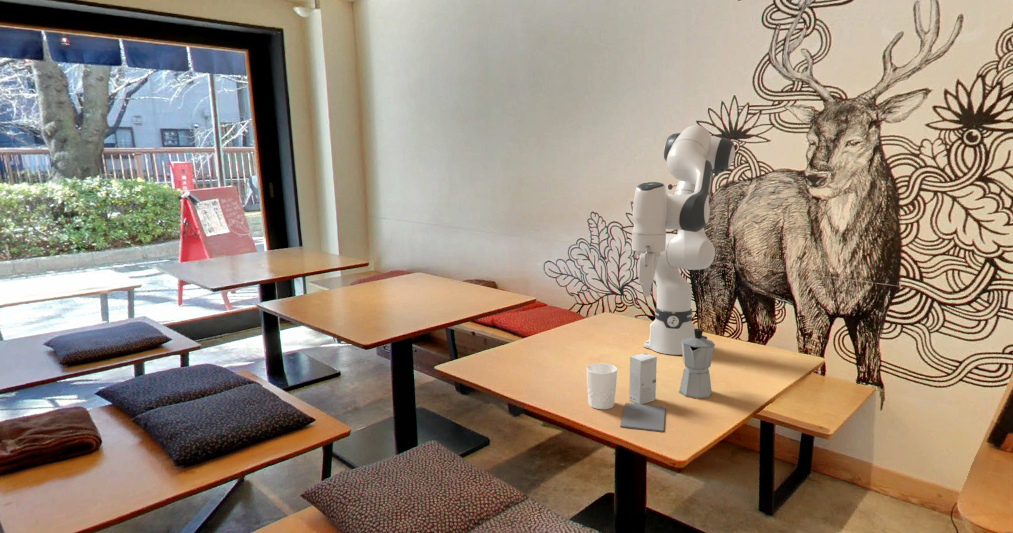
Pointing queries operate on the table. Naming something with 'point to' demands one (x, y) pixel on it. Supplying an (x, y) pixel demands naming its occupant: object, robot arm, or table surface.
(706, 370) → the coffee maker
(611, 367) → the white cup
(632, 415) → the mat
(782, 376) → the table surface
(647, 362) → the skincare box
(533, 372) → the table surface
